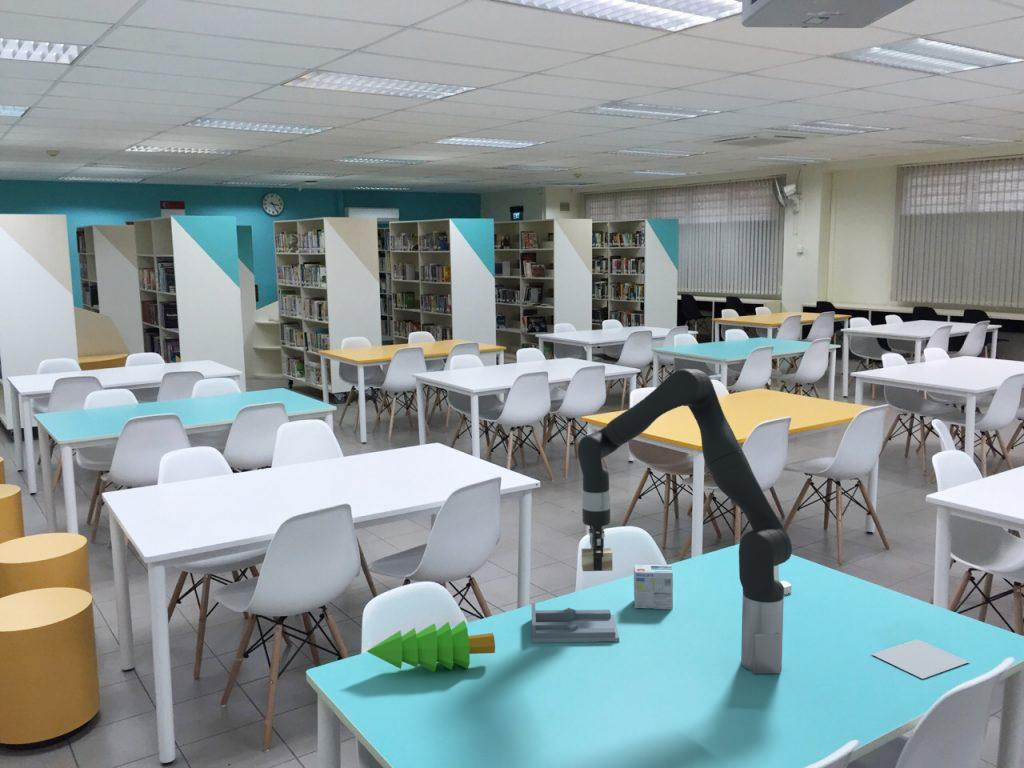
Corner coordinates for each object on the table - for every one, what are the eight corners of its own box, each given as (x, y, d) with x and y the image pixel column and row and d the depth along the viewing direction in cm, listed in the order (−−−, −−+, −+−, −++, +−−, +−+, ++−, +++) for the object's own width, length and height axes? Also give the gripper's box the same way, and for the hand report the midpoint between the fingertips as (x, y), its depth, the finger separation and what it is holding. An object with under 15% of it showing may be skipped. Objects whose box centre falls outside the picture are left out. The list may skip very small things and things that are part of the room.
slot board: (619, 641, 211) (619, 624, 210) (532, 642, 211) (532, 625, 210) (613, 618, 224) (613, 602, 224) (531, 619, 225) (531, 603, 224)
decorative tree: (495, 618, 196) (366, 626, 190) (498, 669, 193) (367, 679, 187) (487, 618, 207) (365, 625, 201) (490, 666, 204) (365, 675, 198)
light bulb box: (671, 600, 236) (671, 564, 234) (673, 610, 229) (673, 572, 228) (633, 599, 237) (633, 563, 236) (634, 609, 230) (634, 571, 229)
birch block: (612, 570, 225) (612, 552, 225) (582, 571, 226) (582, 553, 225) (610, 565, 229) (610, 548, 229) (581, 566, 229) (581, 548, 229)
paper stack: (839, 641, 210) (839, 638, 209) (906, 621, 221) (906, 618, 221) (922, 681, 189) (922, 678, 189) (991, 656, 200) (991, 653, 200)
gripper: (613, 513, 218) (613, 576, 220) (607, 498, 232) (608, 558, 234) (584, 513, 218) (585, 577, 220) (580, 499, 232) (581, 558, 235)
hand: (597, 567), depth 227 cm, fingers closed on birch block, 4 cm apart
